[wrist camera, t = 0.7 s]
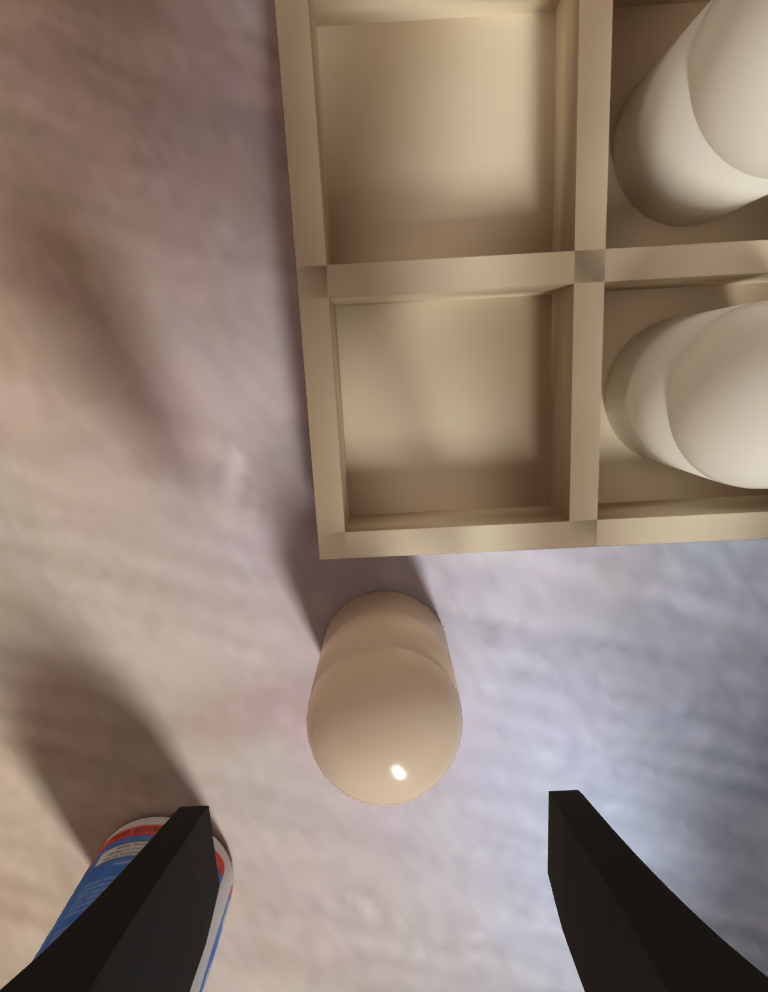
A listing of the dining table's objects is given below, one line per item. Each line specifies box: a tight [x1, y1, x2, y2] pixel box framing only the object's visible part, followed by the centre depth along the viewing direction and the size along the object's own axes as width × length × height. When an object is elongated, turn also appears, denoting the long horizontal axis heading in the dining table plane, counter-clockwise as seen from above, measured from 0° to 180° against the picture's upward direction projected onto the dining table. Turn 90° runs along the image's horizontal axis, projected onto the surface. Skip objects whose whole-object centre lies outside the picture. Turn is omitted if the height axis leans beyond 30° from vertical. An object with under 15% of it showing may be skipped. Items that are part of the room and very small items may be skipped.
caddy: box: [275, 0, 768, 560], centre depth 16 cm, size 15×15×2 cm
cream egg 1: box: [613, 0, 768, 227], centre depth 13 cm, size 4×4×6 cm
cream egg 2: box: [605, 300, 768, 489], centre depth 14 cm, size 4×4×6 cm
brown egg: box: [307, 591, 463, 806], centre depth 17 cm, size 4×4×6 cm
